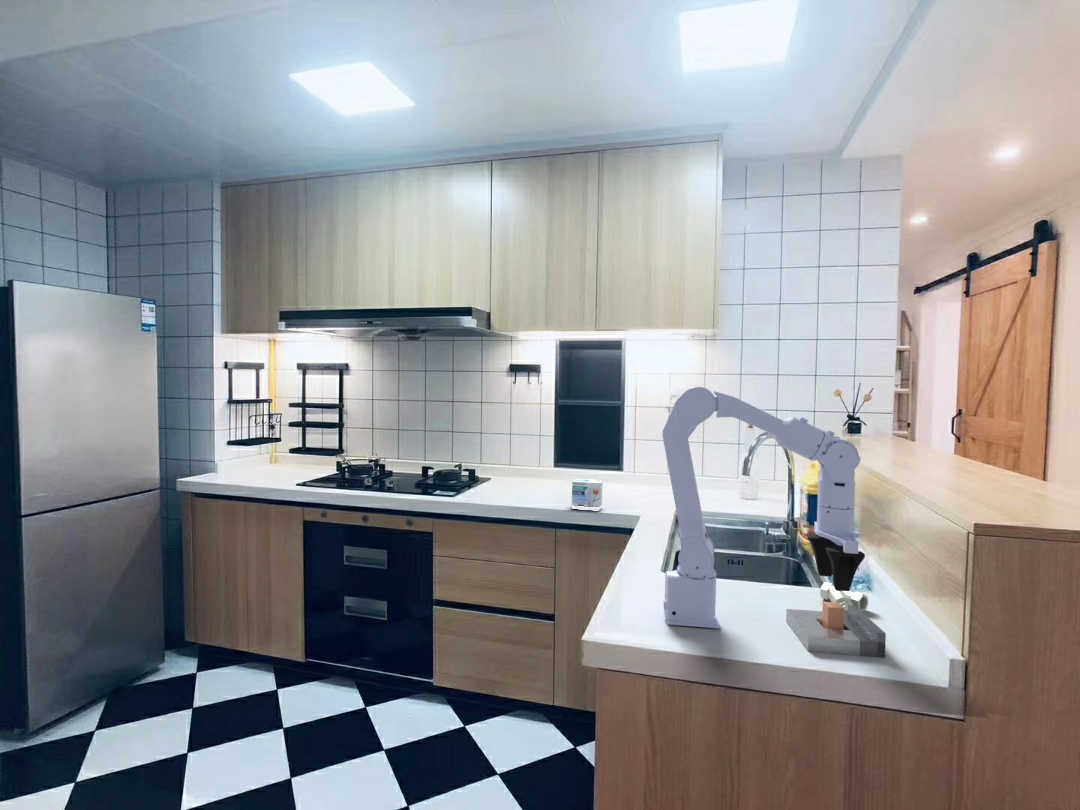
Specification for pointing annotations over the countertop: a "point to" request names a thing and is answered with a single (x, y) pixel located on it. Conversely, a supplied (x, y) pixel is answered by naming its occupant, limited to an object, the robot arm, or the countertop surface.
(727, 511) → the countertop surface
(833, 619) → the pin
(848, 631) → the grey square base
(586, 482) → the light bulb box
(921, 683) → the countertop surface
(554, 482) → the countertop surface
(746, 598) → the countertop surface
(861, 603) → the pipe fitting
